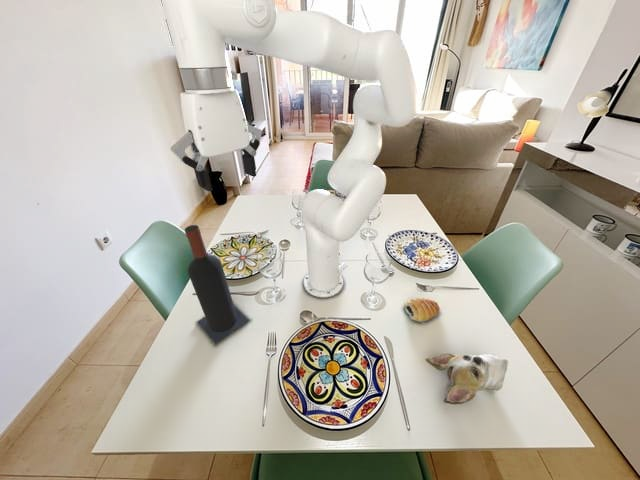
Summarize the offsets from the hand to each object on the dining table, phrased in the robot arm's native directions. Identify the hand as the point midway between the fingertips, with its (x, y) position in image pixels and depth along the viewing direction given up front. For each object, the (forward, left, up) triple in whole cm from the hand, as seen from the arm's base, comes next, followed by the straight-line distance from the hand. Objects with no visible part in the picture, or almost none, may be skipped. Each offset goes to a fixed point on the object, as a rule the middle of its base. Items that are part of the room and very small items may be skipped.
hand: (230, 181), depth 53 cm
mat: (+8, -6, -40) cm, 42 cm away
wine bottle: (+8, -6, -40) cm, 41 cm away
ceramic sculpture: (-20, +48, -40) cm, 66 cm away
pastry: (-32, +32, -40) cm, 61 cm away
